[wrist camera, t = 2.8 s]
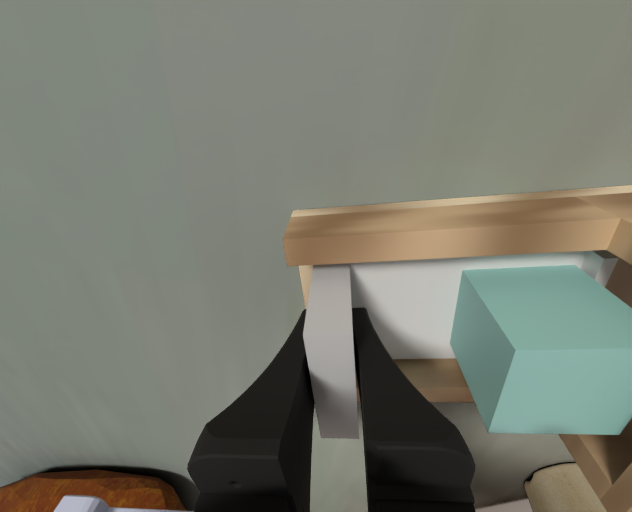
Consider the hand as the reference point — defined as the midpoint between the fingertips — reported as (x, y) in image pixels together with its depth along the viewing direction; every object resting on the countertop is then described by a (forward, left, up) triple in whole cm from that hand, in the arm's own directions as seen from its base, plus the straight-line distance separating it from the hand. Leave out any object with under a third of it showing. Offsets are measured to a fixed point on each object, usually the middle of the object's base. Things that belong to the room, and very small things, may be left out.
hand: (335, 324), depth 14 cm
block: (-8, 0, -1) cm, 8 cm away
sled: (-5, 0, -2) cm, 5 cm away
